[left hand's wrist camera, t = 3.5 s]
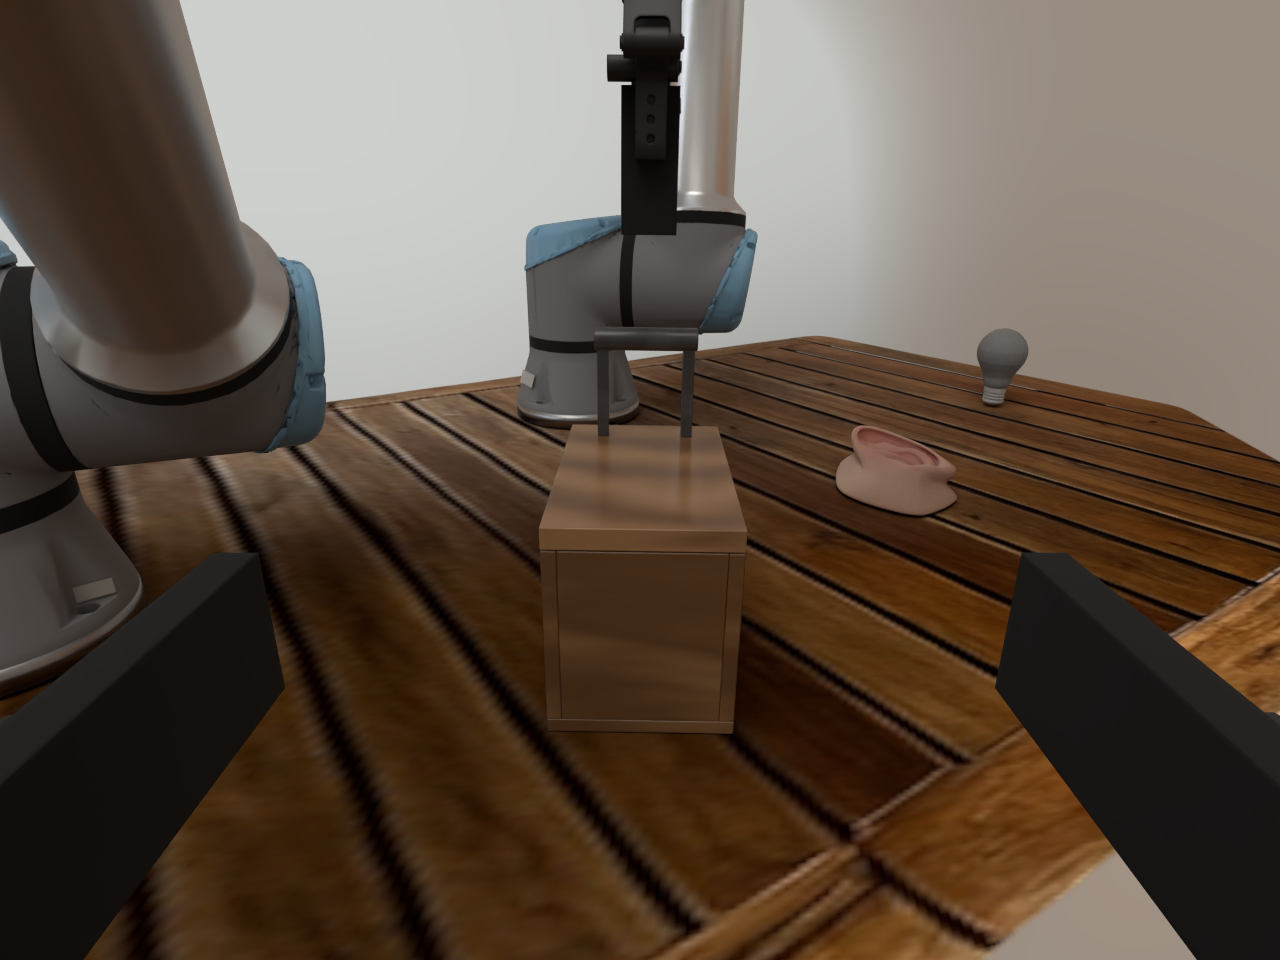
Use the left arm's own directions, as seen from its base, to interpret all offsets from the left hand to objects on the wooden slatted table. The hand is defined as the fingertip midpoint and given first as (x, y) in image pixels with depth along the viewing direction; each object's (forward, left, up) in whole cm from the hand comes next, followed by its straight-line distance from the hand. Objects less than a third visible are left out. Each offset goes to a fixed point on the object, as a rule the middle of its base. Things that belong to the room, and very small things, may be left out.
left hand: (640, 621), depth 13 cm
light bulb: (-38, +89, -20) cm, 98 cm away
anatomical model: (-28, +53, -20) cm, 63 cm away
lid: (-22, +17, -9) cm, 29 cm away
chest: (-22, +17, -20) cm, 34 cm away
